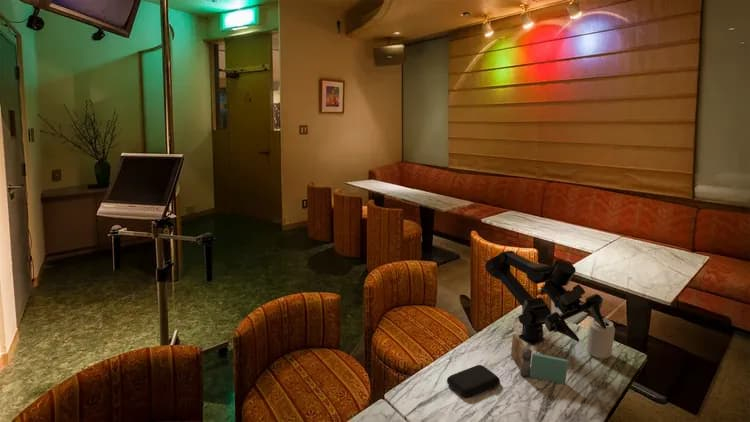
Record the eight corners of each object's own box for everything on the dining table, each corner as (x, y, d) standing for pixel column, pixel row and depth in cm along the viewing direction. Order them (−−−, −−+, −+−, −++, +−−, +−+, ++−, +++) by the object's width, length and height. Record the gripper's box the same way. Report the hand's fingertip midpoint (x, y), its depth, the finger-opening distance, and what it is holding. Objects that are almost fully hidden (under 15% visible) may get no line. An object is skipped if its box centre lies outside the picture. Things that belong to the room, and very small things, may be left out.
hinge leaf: (520, 375, 137) (522, 353, 135) (520, 371, 139) (522, 349, 137) (565, 385, 132) (568, 363, 130) (565, 380, 135) (567, 358, 133)
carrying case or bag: (467, 404, 125) (505, 388, 132) (468, 395, 124) (506, 379, 131) (443, 383, 134) (480, 369, 141) (444, 375, 133) (481, 361, 140)
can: (613, 361, 145) (619, 328, 142) (589, 358, 147) (594, 326, 144) (607, 349, 152) (611, 317, 149) (583, 346, 154) (588, 315, 151)
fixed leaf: (530, 377, 137) (533, 352, 134) (522, 377, 136) (524, 353, 134) (516, 355, 148) (518, 332, 146) (508, 355, 148) (510, 332, 146)
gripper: (534, 293, 137) (567, 333, 126) (587, 269, 139) (623, 307, 128) (533, 312, 145) (564, 352, 134) (583, 289, 147) (617, 327, 136)
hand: (592, 334), depth 133 cm, fingers open, 9 cm apart
